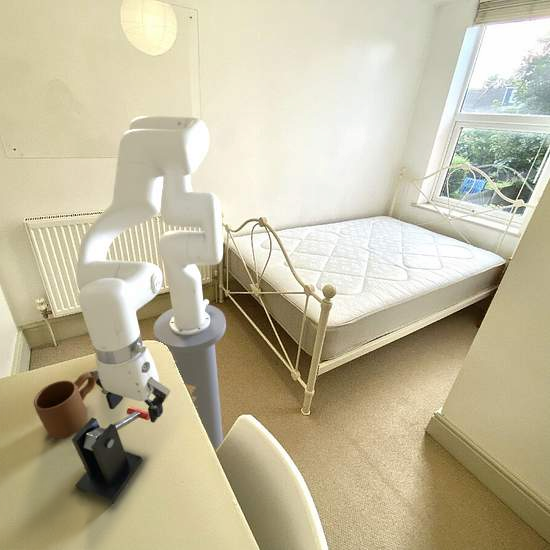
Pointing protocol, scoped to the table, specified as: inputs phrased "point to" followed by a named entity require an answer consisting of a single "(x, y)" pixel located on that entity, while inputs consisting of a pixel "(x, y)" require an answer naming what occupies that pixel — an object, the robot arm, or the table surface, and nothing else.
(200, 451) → the table surface
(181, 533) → the table surface
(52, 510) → the table surface
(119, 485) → the bracket
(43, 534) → the table surface
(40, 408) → the mug
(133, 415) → the lever
